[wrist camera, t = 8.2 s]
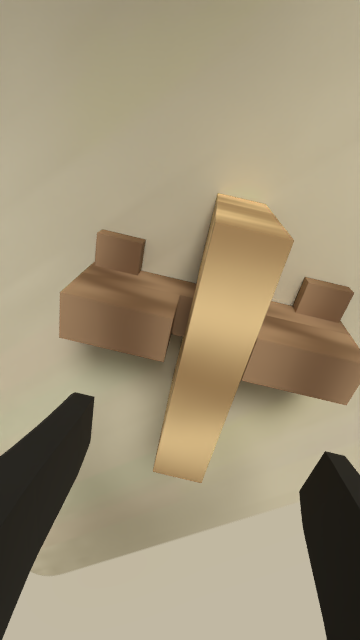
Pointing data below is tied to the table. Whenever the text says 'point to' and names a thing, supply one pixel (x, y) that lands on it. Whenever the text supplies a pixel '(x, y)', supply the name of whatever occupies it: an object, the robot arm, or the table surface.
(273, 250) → the tan tapered flat block
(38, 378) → the table surface
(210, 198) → the table surface
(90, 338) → the walnut rail
